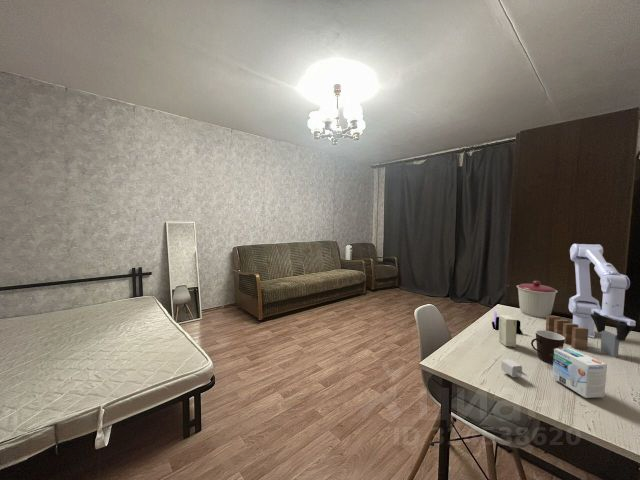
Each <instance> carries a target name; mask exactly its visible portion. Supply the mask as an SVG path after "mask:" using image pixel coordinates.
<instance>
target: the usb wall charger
mask: <svg viewBox="0 0 640 480" xmlns="http://www.w3.org/2000/svg"><path fill="white" fill-rule="evenodd" d="M501 370H502V371H503V372H505V373H506V374H508V375H509V376H511V377H512V378H522V376H525V377H527V376H528V374H526V373H525V372H523V365H520V364H519V363H518V362H516V361H514V360H512V359H511V358H510V359H509V358H508V359H507V358H506V359H502V360H501Z"/></svg>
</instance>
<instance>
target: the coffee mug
mask: <svg viewBox="0 0 640 480" xmlns="http://www.w3.org/2000/svg"><path fill="white" fill-rule="evenodd" d="M564 341H565V337H564V336H562V335H560V334H557V333H554V332H550V331H546V330H543V329H538V330H536V331H535V338H532V340H531V343H530V345H531V347H532V348H533V349H534V350H535V351H537V358H538V359H540V360H541V361H544V362H545V363H546V362H547V363H551V364H553V360H554V349H561V348H564V345H565V343H564ZM534 342H536V347H535V346H534Z"/></svg>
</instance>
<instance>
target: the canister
mask: <svg viewBox="0 0 640 480" xmlns="http://www.w3.org/2000/svg"><path fill="white" fill-rule="evenodd" d="M516 288H517V292H518V293H517V294H518V303H519V310H520V313H522V314H524V315H526V316H528V317H533V318H537V319H546V317H547V316H552V311H553V308H554V304H555V298H556V294H557V293H558V289H557V290H556V289H555V288H554V287H551V286H548V285H543V284H541V282H540V280H533V281H532V283H520V284H518V285H516Z"/></svg>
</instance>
